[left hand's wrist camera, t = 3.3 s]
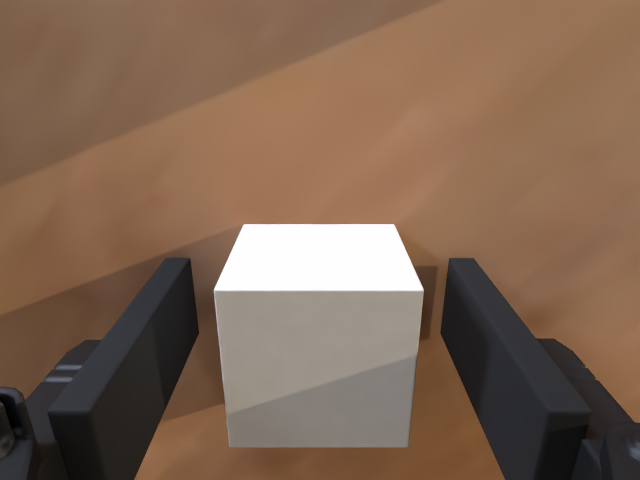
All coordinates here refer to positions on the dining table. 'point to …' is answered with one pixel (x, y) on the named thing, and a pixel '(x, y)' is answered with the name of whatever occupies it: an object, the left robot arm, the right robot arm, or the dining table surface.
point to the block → (318, 336)
